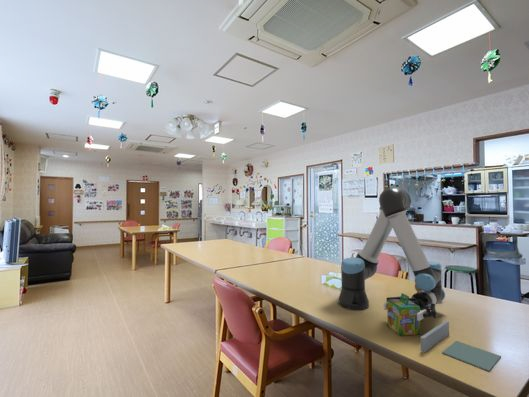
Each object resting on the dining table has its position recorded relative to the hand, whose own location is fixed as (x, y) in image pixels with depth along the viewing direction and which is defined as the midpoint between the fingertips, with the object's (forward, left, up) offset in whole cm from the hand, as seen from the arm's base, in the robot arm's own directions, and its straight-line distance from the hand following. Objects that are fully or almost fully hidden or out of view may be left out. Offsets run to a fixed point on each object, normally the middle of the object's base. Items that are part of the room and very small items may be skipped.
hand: (400, 311), depth 109 cm
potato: (-10, +51, -9) cm, 52 cm away
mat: (+23, +3, -8) cm, 24 cm away
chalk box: (0, +3, -9) cm, 9 cm away
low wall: (+12, +3, -8) cm, 15 cm away
